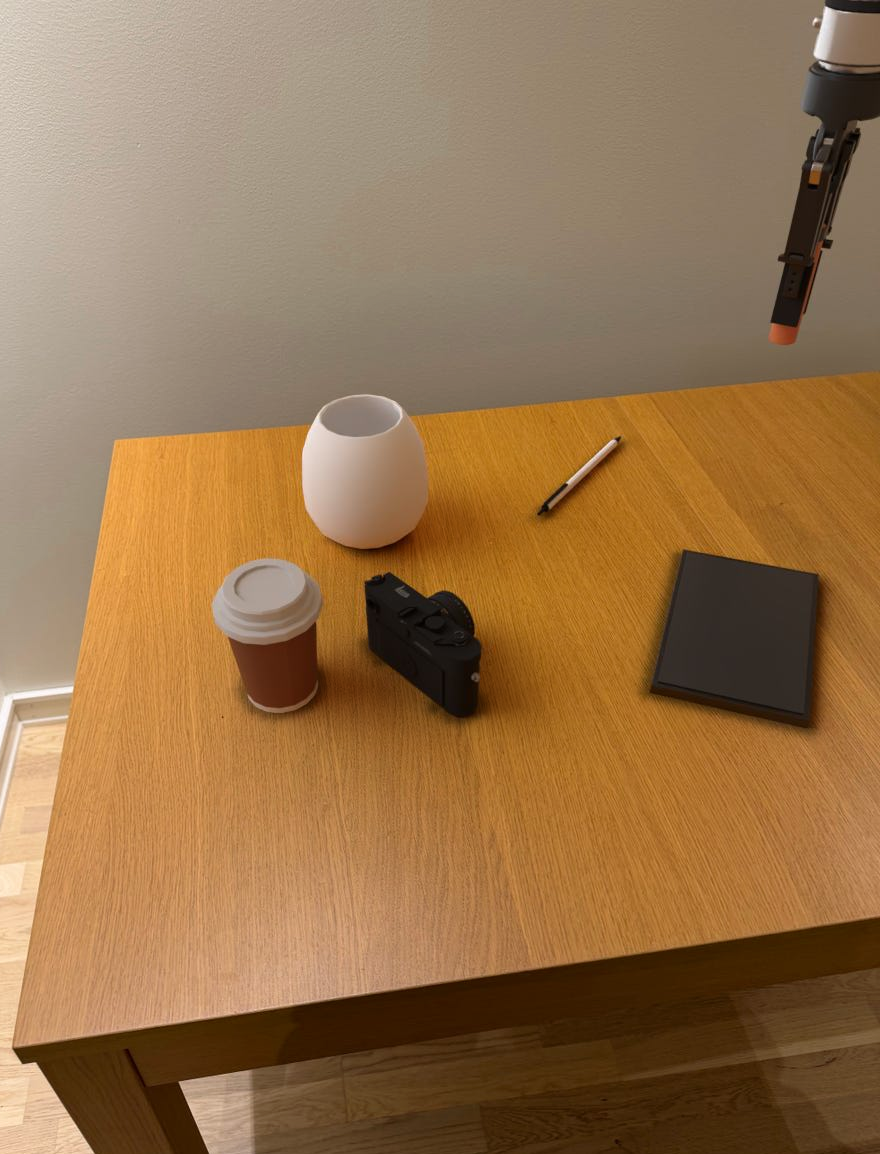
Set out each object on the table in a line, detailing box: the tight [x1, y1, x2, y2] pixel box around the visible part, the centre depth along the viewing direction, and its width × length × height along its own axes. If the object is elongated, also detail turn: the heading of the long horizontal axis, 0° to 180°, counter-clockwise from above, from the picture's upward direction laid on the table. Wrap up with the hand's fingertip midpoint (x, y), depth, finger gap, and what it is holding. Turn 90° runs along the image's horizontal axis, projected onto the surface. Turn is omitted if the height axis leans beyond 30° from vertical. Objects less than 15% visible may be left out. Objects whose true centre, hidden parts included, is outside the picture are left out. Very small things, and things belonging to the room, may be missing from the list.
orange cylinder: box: [768, 223, 827, 346], centre depth 96 cm, size 3×3×12 cm
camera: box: [363, 571, 483, 718], centre depth 81 cm, size 14×7×8 cm, turn 41°
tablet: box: [649, 549, 820, 729], centre depth 85 cm, size 20×13×1 cm, turn 160°
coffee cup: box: [211, 557, 324, 714], centre depth 78 cm, size 9×9×12 cm
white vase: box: [301, 393, 430, 550], centre depth 95 cm, size 13×13×14 cm
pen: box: [536, 435, 622, 517], centre depth 104 cm, size 1×19×1 cm, turn 143°
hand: (788, 316), depth 98 cm, fingers closed on orange cylinder, 3 cm apart
